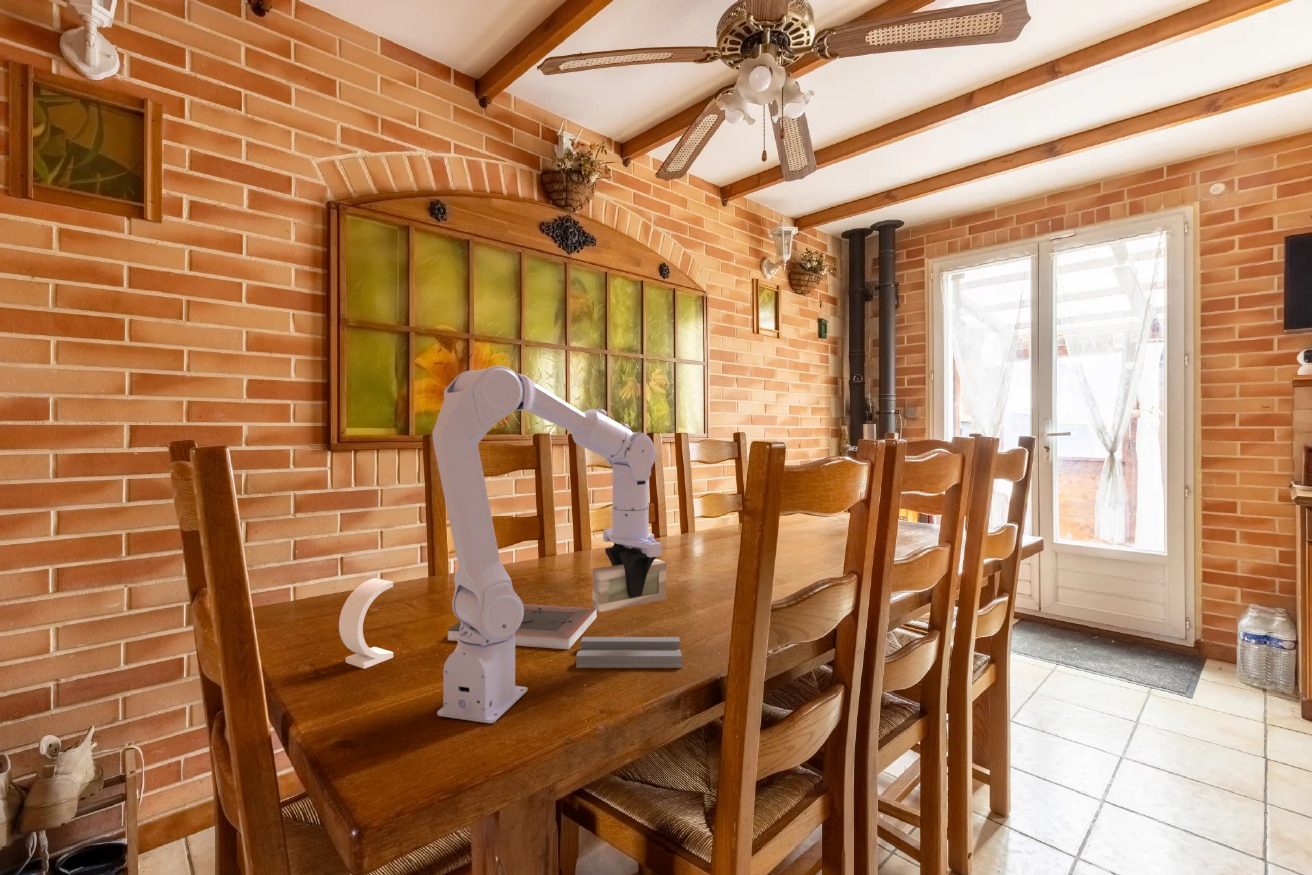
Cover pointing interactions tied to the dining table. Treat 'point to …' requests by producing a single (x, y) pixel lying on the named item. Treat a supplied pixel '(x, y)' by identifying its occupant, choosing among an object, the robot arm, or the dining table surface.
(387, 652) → the headphone stand
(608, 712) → the dining table surface
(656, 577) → the frame
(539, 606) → the picture frame
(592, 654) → the grooved channel
